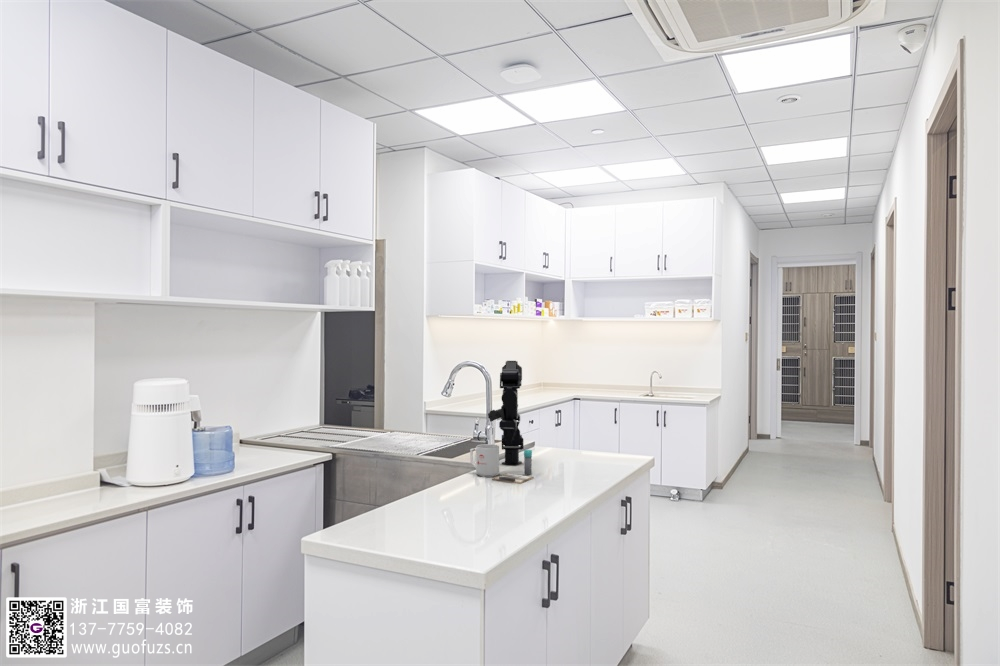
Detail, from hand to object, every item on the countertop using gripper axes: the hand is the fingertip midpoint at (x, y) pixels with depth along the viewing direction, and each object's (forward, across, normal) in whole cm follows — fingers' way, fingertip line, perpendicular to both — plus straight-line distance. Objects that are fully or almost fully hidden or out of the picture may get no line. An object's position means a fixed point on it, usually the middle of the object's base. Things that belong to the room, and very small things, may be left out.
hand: (510, 442), depth 258 cm
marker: (+13, -2, +7) cm, 14 cm away
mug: (+13, 0, -10) cm, 16 cm away
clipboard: (+12, +6, +2) cm, 14 cm away
